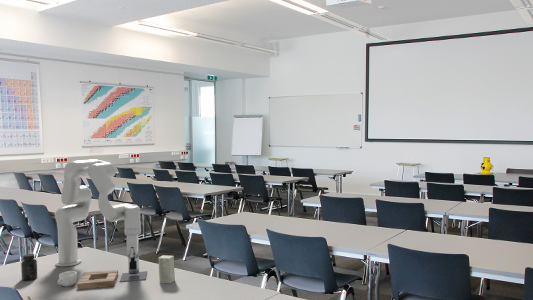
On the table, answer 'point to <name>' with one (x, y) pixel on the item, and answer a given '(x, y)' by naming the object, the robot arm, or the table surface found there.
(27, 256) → the supplement bottle
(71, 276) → the teacup
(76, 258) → the robot arm
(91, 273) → the wooden square frame
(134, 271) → the grey light bulb
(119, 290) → the table surface
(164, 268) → the skincare box
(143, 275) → the mat
